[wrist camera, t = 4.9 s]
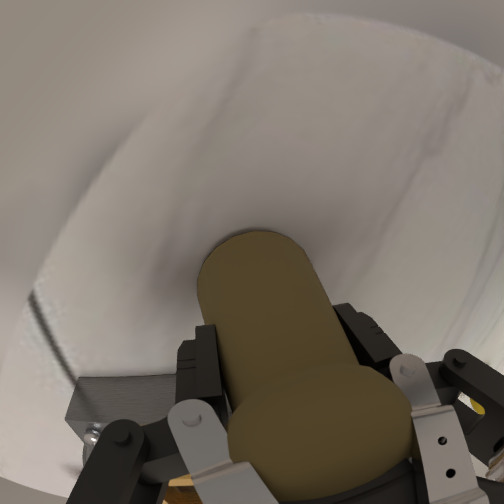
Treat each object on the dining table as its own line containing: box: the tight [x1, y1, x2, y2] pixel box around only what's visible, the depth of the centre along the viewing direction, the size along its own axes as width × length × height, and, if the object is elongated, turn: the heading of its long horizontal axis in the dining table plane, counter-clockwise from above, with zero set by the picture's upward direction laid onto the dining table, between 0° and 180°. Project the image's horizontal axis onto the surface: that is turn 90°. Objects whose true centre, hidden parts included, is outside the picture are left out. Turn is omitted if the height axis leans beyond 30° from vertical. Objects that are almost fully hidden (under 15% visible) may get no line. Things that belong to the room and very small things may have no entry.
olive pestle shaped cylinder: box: [197, 231, 413, 502], centre depth 9 cm, size 6×6×11 cm
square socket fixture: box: [65, 374, 233, 504], centre depth 17 cm, size 19×16×6 cm
